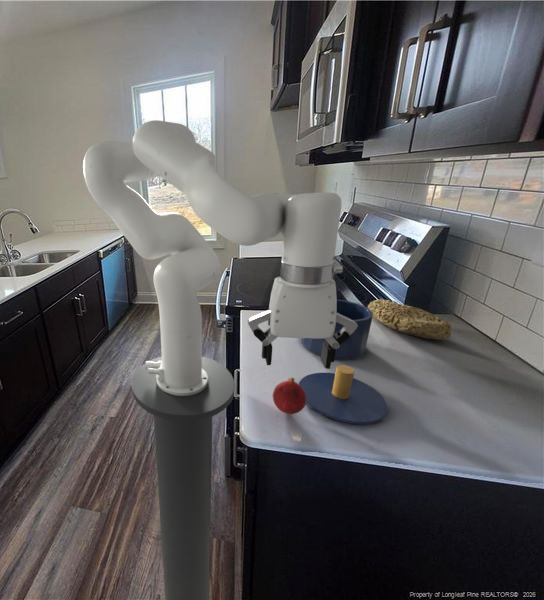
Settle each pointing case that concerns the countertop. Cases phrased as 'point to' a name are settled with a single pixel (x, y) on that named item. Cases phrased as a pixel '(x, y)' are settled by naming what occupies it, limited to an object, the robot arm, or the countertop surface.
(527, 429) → the countertop surface
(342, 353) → the pot
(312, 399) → the lid
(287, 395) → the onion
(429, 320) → the sponge
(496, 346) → the countertop surface
